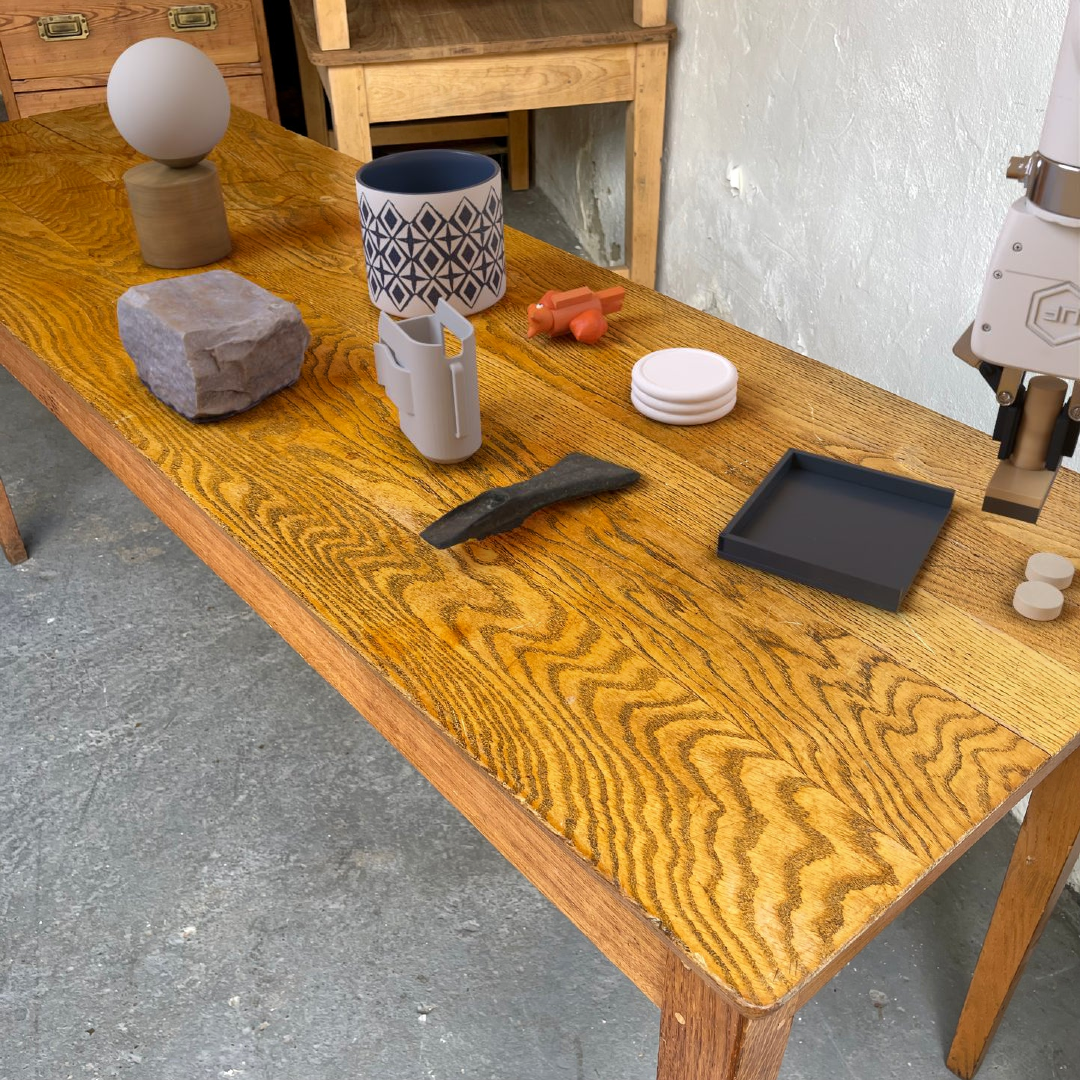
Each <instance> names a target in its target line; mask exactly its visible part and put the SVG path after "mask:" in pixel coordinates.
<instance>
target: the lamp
mask: <svg viewBox="0 0 1080 1080" xmlns="http://www.w3.org/2000/svg"><path fill="white" fill-rule="evenodd" d="M106 100H107V101H106V102H107V107H108V111H109V114H110V117H111V119H112V122H113V124H114V126H115V128H116V129H117V131H118V133H119V134H120V135H121V137H122V138H123V140H125V141H126V142H127V144H129V146H131V148H133V149H134V150H135V151H137V152H138V153H140V154H142V155H144V156H146V157H147V158H149V159H150V160H152V161H147V162H144V163H141V164H137V165H135V166H133V167H131V168H129V169H127V170H126V171H125V172H124V173H123V176H122V178H123V183H124V188H125V190H126V196H127V199H128V204H129V208H130V212H131V216H132V220H133V224H134V228H135V232H136V237H137V240H138V245H139V249H140V253H141V252H142V253H141V256H142V257H141V258H142V259H143V261H144V263H145V264H147V265H148V266H151V267H154V268H159V269H168V270H169V269H170V270H172V269H173V270H174V269H177V270H178V269H180V270H181V269H189V268H196V267H201V266H205V265H206V266H207V265H209V264H212V263H215V262H218V261H220V260H222V259H224V258H225V257H227V256H228V255H229V254H230V253H231V252H232V250H233V241H232V237H231V232H230V226H229V222H228V216H227V212H226V211H227V210H226V206H225V201H224V195H223V190H222V186H221V180H220V175H219V170H218V166H217V164H216V163H215V162H214V161H212V160H209V159H207V158H208V156H209V155H210V154H211V153H212V152H213V151H214V149H215V148H216V147H217V146H218V145H219V144H220V142H221V141H222V139H223V138H224V136H225V134H226V133H227V130H228V127H229V123H230V118H231V97H230V92H229V88H228V86H227V83H226V81H225V78H224V76H223V74H222V72H221V71H220V70H219V68H218V66H217V65H216V64H215V63H214V61H212V59H211V58H210V57H209V56H207V54H205V53H204V52H203V51H202V50H200V48H198V47H196V46H194V45H192V44H190V43H188V42H186V41H183V40H180V39H176V38H172V37H164V36H163V37H162V36H159V37H151V38H147V39H144V40H141V41H138V42H136V43H134V44H132V45H131V46H129V47H128V48H126V50H124V51H123V52H122V53H121V54H120V56H119V57H118V58H117V59H116V61H115V62H114V64H113V66H112V68H111V70H110V73H109V76H108V80H107V86H106Z"/></svg>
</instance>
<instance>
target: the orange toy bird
mask: <svg viewBox="0 0 1080 1080" xmlns="http://www.w3.org/2000/svg"><path fill="white" fill-rule="evenodd" d="M626 295H627V291H626V290H625V289H624V287H623V286H622V285H618V286H615V287H610V288H607V289H603V290H600V291H593V290H591V289H590V287H589V286H587V285H586V286H581V287H578V288H575V289H570V290H566V291H561V290H555V289H550V290H548V291H547V292H546V293H545V294H544V295H543V296H542V297H541V298H540V299H539V301H538V302H537V303H531V304H528V306H527V309H526V311H527V323H528V325H529V326H528V331H527V333H526V338H527V339H529V340H531V339H532V338H534V337H536V336H538V335H539V334H544V333H545V334H546V335H547V336H548V337H549V338H550V339H552V338H556V337H560V336H564V335H567V334H570V333H572V334H573V336H574V337H575V339H576V340H577V342H580V343H584V344H588V345H593V344H595V343H597V342H598V341H599V339H600V338H601V337H602V336H604V335H605V334H606V333H607V331H608V329H609V325H608V322H607V319H606V317H605V316H608V315H610V314H614V313H618V312H621V311H622V309H623V305H624V303H623V302H622V301H623V300H625V298H626Z"/></svg>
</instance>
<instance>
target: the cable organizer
mask: <svg viewBox="0 0 1080 1080" xmlns="http://www.w3.org/2000/svg"><path fill="white" fill-rule="evenodd" d="M378 318H379V319H378V324H377V332H378V339H379V342H374V343H373V345H372V346H373V351H374V353H373V354H374V360H375V362H374V363H375V369H376V376H377V384H378V385H380V386H384V388H385V390H384V391H385V395H386V396H387V398H388V399H389V400H390V401H391V402H392V403H393V404H394V406H395V407H396V408H397V409H398V418H399V427H400V430H401V432H402V433H403V434H404V435H405V436H406V437H407V439H408V440H409V441H410V442H411V443H412V445H413V446H414V447H415V449H417V450H418V452H420V453H421V455H422V456H423V457H424V458H426V459H427V460H428V461H430V462H433V463H437V464H443V465H449V464H457V463H460V462H464V461H465V460H468V459H469V458H470V457H472V456H473V455H474V454H475V453H476V452H477V451H478V450H479V449H480V448H481V445H482V442H483V439H482V438H483V437H482V421H481V407H480V392H479V391H480V390H479V375H478V364H477V363H478V361H477V349H476V348H477V346H476V334H475V333H476V332H475V327H474V325H473V324H472V322H470V321H469V320H468V319H467V318H466V317H465V316H464V317H463V316H462V315H461V314H460V313H459V312H457V311H456V310H455V309H454V308H453V307H452V306H451V305H449V304H448V303H447V302H446V301H445V300H444V299H443V298H439V300H438V304H437V308H436V312H435V314H433V315H423V316H419V317H414V318H410V319H406V318H405V319H402V320H398V321H397V320H396V321H395V320H393V319H392V317H390V316H389V315H388V313H386V312H384V311H382V310H380V313H379V317H378ZM445 328H446V329H447V330H448V331H449V332H451V333H452V335H454V336H455V337H456V338H457V339H458V340H459V341H461V351H460V353H459V354H457V355H454V356H448V357H447V352H446V351H447V350H446V339H445V338H446V337H445Z"/></svg>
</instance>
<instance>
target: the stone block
mask: <svg viewBox="0 0 1080 1080" xmlns="http://www.w3.org/2000/svg"><path fill="white" fill-rule="evenodd" d="M116 315H117V321H118V322H117V323H118V334H119V337H120V341H121V345H122V347H123V348H124V350H125V352H126V354H127V355H128V357H129V358H130V360H131V361H132V362H133V364H134V366H135V369H136V374H137V378H138V380H140V381H139V383H141V385H143V386H146V387H147V388H148V392H149V393H150V394H151V395H152V396H154V397H155V398H156V399H157V401H159V402H161V403H163V404H165V406H167V407H168V408H171V409H172V410H173V411H174V412H175V413H177V414H178V415H180V416H182V417H184V418H185V419H187V420H189V421H190V422H192V423H194V424H196V425H197V424H199V423H209V422H218V421H221V420H222V421H223V420H226V419H228V418H230V417H233V416H235V415H236V414H241V413H243V412H246V411H249V410H250V409H252V408H253V407H255V406H258V405H259V404H260V403H261V402H262V401H263V400H265V399H267V398H269V397H270V395H273V394H275V393H277V392H280V391H282V389H284V388H286V387H289V388H290V387H291V386H292V385H293V384H295V383H296V382H297V381H299V379H300V377H301V376H300V374H301V368H302V366H303V364H304V362H305V352H306V351H307V350H308V348H309V346H310V345H311V341H312V334H311V332H310V330H311V329H310V328H309V327H308V325H307V324H306V322H304V321H303V315H302V310H300V309H299V308H298V307H297V305H296V304H295V303H293V302H290V301H287V300H285V299H284V298H283V297H279V296H277V295H274V294H272V293H271V292H270V291H269V290H267V289H265V288H263V287H262V286H259V285H258V284H256V283H254V282H252V281H251V280H248V279H247V278H244V277H243V276H241V275H239V274H237V273H235V272H233V271H231V270H229V269H214V270H210V271H209V270H208V271H206V272H201V273H195V274H190V275H187V276H179V277H173V278H168V279H167V278H165V279H161V280H154V281H151V282H149V283H144V284H138V285H133V286H130V287H129V288H128V290H127V291H125V292H124V293H122V295H121V296H120V297H118V298H117V302H116Z"/></svg>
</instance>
